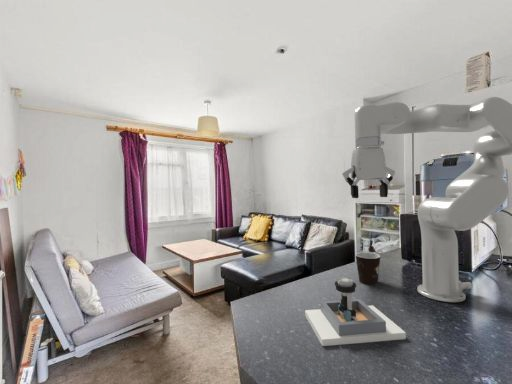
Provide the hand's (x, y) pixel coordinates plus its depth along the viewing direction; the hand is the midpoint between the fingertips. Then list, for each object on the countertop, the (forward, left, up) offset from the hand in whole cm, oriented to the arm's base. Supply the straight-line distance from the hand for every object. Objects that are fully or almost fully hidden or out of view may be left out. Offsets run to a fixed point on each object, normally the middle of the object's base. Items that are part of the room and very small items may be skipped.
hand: (369, 197), depth 81 cm
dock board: (+15, +16, -32) cm, 39 cm away
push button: (+16, +16, -31) cm, 38 cm away
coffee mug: (-4, -12, -32) cm, 35 cm away
